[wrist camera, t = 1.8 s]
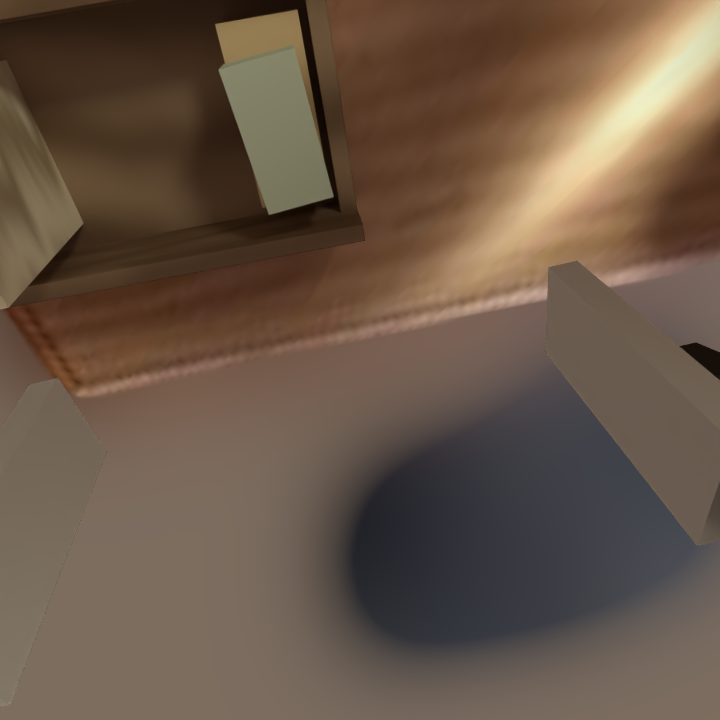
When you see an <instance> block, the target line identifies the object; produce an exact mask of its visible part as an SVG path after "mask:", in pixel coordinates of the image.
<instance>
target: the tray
mask: <svg viewBox="0 0 720 720" xmlns="http://www.w3.org/2000/svg"><path fill="white" fill-rule="evenodd" d="M292 9H297V10H298V15H299V21H300V27H301V32H302V38H303V44H304V49H305V55H306V61H307V66H308V72H309V78H310V83H311V89H312V94H313V100H314V106H315V111H316V117H317V123H318V128H319V134H320V140H321V145H322V151H323V157H324V162H325V166H326V170H327V173H328V177H329V181H330V185H331V188H332V192H333V196H334V197H332V198H328V199H325V200H321V201H317V202H314V203H310V204H307V205H303V206H299V207H296V208H292V209H289V210H285V211H281V212H278V213H274V214H270V215H269V214H268V211H267V208H266V207H265V208H262V204H261V201H260V197H259V193H258V189H257V185H256V181H255V177H254V174H253V170H252V166H251V162H250V159H249V156H248V153H247V151H246V148H245V145H244V142H243V139H242V136H241V133H240V130H239V128H238V125H237V122H236V119H235V116H234V113H233V110H232V107H231V105H230V102H229V99H228V96H227V93H226V90H225V87H224V84H223V82H222V79H221V76H220V73H219V68H220V67H221V66H222V65H223V64H225V61H224V57H223V54H222V50H221V46H220V42H219V38H218V34H217V30H216V26H215V24H217V23H220V22H224V21H230V20H236V19H241V18H247V17H253V16H258V15H264V14H270V13H275V12H281V11H287V10H292ZM3 60H7V63H8V65H9V67H10V69H11V71H12V73H13V75H14V77H15V79H16V82H17V84H18V86H19V88H20V90H21V92H22V94H23V96H24V98H25V101H26V103H27V105H28V107H29V109H30V111H31V113H32V115H33V117H34V119H35V122H36V124H37V126H38V128H39V130H40V132H41V134H42V136H43V138H44V141H45V143H46V145H47V147H48V149H49V151H50V153H51V155H52V157H53V160H54V162H55V164H56V166H57V168H58V170H59V172H60V174H61V176H62V179H63V181H64V183H65V185H66V187H67V189H68V191H69V193H70V195H71V198H72V200H73V202H74V204H75V206H76V208H77V210H78V212H79V214H80V216H81V219H82V221H83V225H82V226H81V227H80V228H79V229H78V230H77V231H76V232H75V234H74V235H73V236H72V237H71V238H70V239H69V240H68V241H67V243H66V244H65V245H64V246H63V247H62V248H61V249H60V250H59V252H58V253H57V254H56V255H55V256H54V257H53V258H52V259H51V261H50V262H49V263H48V264H47V265H46V266H45V267H44V268H43V270H42V271H41V272H40V273H39V274H38V275H37V276H36V278H35V279H34V280H33V281H32V282H31V283H30V284H29V285H28V287H27V288H26V289H25V290H24V291H23V292H22V293H21V294H20V296H19V297H18V298H17V299H16V300H15V301H14V302H13V303H12V305H11V306H10V307H14V306H19V305H25V304H30V303H36V302H41V301H46V300H52V299H57V298H62V297H68V296H73V295H78V294H84V293H89V292H94V291H100V290H105V289H110V288H116V287H121V286H126V285H132V284H137V283H142V282H148V281H153V280H158V279H164V278H169V277H174V276H180V275H185V274H190V273H196V272H201V271H206V270H212V269H217V268H222V267H228V266H233V265H238V264H244V263H249V262H254V261H260V260H265V259H270V258H276V257H281V256H286V255H292V254H297V253H302V252H308V251H313V250H318V249H324V248H329V247H334V246H340V245H345V244H350V243H356V242H361V241H365V237H364V230H363V224H362V221H361V219H360V216H359V213H358V211H357V205H356V199H355V192H354V185H353V179H352V172H351V165H350V158H349V152H348V145H347V138H346V131H345V125H344V118H343V111H342V105H341V98H340V91H339V84H338V78H337V71H336V64H335V57H334V51H333V44H332V37H331V31H330V24H329V17H328V10H327V4H326V0H0V61H3Z"/></svg>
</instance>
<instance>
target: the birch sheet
mask: <svg viewBox="0 0 720 720" xmlns="http://www.w3.org/2000/svg"><path fill="white" fill-rule="evenodd" d="M82 225H83V221H82V219H81V216H80V214H79V212H78V210H77V208H76V206H75V204H74V202H73V200H72V198H71V195H70V193H69V191H68V189H67V187H66V185H65V183H64V181H63V179H62V176H61V174H60V172H59V170H58V168H57V166H56V164H55V162H54V160H53V157H52V155H51V153H50V151H49V149H48V147H47V145H46V143H45V141H44V138H43V136H42V134H41V132H40V130H39V128H38V126H37V124H36V122H35V119H34V117H33V115H32V113H31V111H30V109H29V107H28V105H27V103H26V101H25V98H24V96H23V94H22V92H21V90H20V88H19V86H18V84H17V82H16V79H15V77H14V75H13V73H12V71H11V69H10V67H9V65H8V63H7V60H3V61H0V309H5V308H9V307H10V306H11V305H12V303H13V302H14V301H15V300H16V299H17V298H18V297H19V296H20V294H21V293H22V292H23V291H24V290H25V289H26V288H27V287H28V285H29V284H30V283H31V282H32V281H33V280H34V279H35V278H36V276H37V275H38V274H39V273H40V272H41V271H42V270H43V268H44V267H45V266H46V265H47V264H48V263H49V262H50V261H51V259H52V258H53V257H54V256H55V255H56V254H57V253H58V252H59V250H60V249H61V248H62V247H63V246H64V245H65V244H66V243H67V241H68V240H69V239H70V238H71V237H72V236H73V235H74V234H75V232H76V231H77V230H78V229H79V228H80V227H81V226H82Z"/></svg>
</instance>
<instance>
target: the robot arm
mask: <svg viewBox="0 0 720 720" xmlns="http://www.w3.org/2000/svg"><path fill="white" fill-rule="evenodd" d="M545 352H546V354H547V355H548V356H549V358H550V359H551V360H552V361H553V362H554V364H555V365H556V367H557V368H558V369H559V370H560V372H561V373H562V374H563V375H564V377H565V378H566V379H567V381H568V382H569V383H570V384H571V386H572V387H573V388H574V389H575V391H576V392H577V393H578V394H579V396H580V397H581V398H582V400H583V401H584V402H585V403H586V405H587V406H588V407H589V409H590V410H591V411H592V412H593V414H594V415H595V416H596V417H597V419H598V420H599V421H600V423H601V424H602V425H603V426H604V428H605V429H606V430H607V431H608V433H609V434H610V435H611V437H612V438H613V439H614V440H615V442H616V443H617V444H618V445H619V447H620V448H621V449H622V450H623V452H624V453H625V454H626V456H627V457H628V458H629V459H630V461H631V462H632V463H633V465H634V466H635V467H636V468H637V470H638V471H639V472H640V473H641V475H642V476H643V477H644V478H645V480H646V481H647V482H648V484H649V485H650V486H651V487H652V489H653V490H654V491H655V493H656V494H657V495H658V496H659V498H660V499H661V500H662V501H663V503H664V504H665V505H666V507H667V508H668V509H669V510H670V512H671V513H672V514H673V515H674V517H675V518H676V519H677V521H678V522H679V523H680V524H681V526H682V527H683V528H684V529H685V531H686V532H687V533H688V535H689V536H690V537H691V538H692V540H693V541H694V542H695V543H696V545H697V546H699V545H703V544H708V543H712V542H716V541H720V352H717V351H715V350H713V349H710V348H708V347H705V346H703V345H701V344H698V343H692V344H688V345H683V346H678V345H677V344H676V343H675V342H673V341H672V340H671V339H670V338H669V337H667V336H666V335H665V334H664V333H663V332H661V331H660V330H659V329H658V328H657V327H655V326H654V325H653V324H652V323H651V322H649V321H648V320H647V319H646V318H645V317H643V316H642V315H641V314H640V313H639V312H637V311H636V310H635V309H634V308H633V307H631V306H630V305H629V304H628V303H627V302H626V301H624V300H623V299H622V298H620V296H618V295H617V294H616V293H615V292H614V291H612V290H611V289H610V288H609V287H608V286H606V285H605V284H604V283H603V282H602V281H600V280H599V279H598V278H597V277H596V276H594V275H593V274H592V273H591V272H590V271H588V270H587V269H586V268H585V267H584V266H582V265H581V264H580V263H579V262H578V261H574V262H570V263H565V264H561V265H557V266H552V267H549V270H548V296H547V322H546V347H545ZM106 453H107V451H106V450H105V448H104V447H103V445H102V444H101V442H100V441H99V439H98V438H97V436H96V435H95V433H94V432H93V430H92V429H91V427H90V426H89V424H88V423H87V421H86V420H85V418H84V417H83V415H82V414H81V412H80V411H79V409H78V407H77V406H76V404H75V403H74V401H73V400H72V398H71V397H70V395H69V394H68V392H67V391H66V389H65V388H64V386H63V385H62V383H61V382H60V380H59V379H58V378H56V379H51V380H47V381H43V382H38V383H34V384H30V385H29V386H28V387H27V389H26V390H25V392H24V393H23V395H22V396H21V398H20V399H19V401H18V402H17V404H16V405H15V407H14V408H13V410H12V411H11V413H10V414H9V416H8V418H7V419H6V421H5V422H4V424H3V425H2V427H1V428H0V707H3V706H7V705H10V704H11V701H12V698H13V696H14V693H15V690H16V688H17V685H18V682H19V680H20V677H21V674H22V672H23V670H24V667H25V664H26V662H27V659H28V657H29V654H30V651H31V649H32V646H33V643H34V641H35V638H36V636H37V633H38V630H39V628H40V625H41V623H42V620H43V617H44V615H45V612H46V609H47V607H48V604H49V602H50V599H51V596H52V594H53V591H54V589H55V586H56V583H57V581H58V578H59V575H60V573H61V570H62V568H63V565H64V562H65V560H66V557H67V555H68V552H69V549H70V547H71V544H72V541H73V539H74V536H75V533H76V531H77V528H78V526H79V523H80V521H81V518H82V515H83V513H84V510H85V507H86V505H87V502H88V500H89V497H90V494H91V492H92V489H93V487H94V484H95V481H96V478H97V476H98V473H99V471H100V468H101V465H102V463H103V460H104V458H105V455H106Z"/></svg>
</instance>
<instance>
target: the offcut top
mask: <svg viewBox="0 0 720 720" xmlns="http://www.w3.org/2000/svg"><path fill="white" fill-rule="evenodd" d="M219 73H220V76H221V79H222V82H223V84H224V87H225V90H226V93H227V96H228V99H229V102H230V105H231V107H232V110H233V113H234V116H235V119H236V122H237V125H238V128H239V130H240V133H241V136H242V139H243V142H244V145H245V148H246V151H247V153H248V156H249V159H250V162H251V165H252V168H253V171H254V174H255V176H256V179H257V182H258V185H259V188H260V191H261V194H262V197H263V199H264V202H265V205H266V208H267V211H268V214H269V215H270V214H274V213H278V212H281V211H285V210H289V209H292V208H296V207H299V206H303V205H307V204H310V203H314V202H317V201H321V200H325V199H328V198H332V197H334V196H333V192H332V188H331V185H330V181H329V177H328V173H327V170H326V166H325V162H324V158H323V154H322V151H321V147H320V143H319V139H318V136H317V132H316V128H315V124H314V120H313V117H312V113H311V109H310V105H309V102H308V98H307V94H306V90H305V86H304V83H303V79H302V75H301V71H300V68H299V64H298V60H297V56H296V52H295V49H294V46H293V45H289V46H286V47H282V48H279V49H275V50H272V51H268V52H265V53H261V54H258V55H254V56H251V57H247V58H244V59H240V60H237V61H233V62H230V63H226V64H223V65H222V66H221V67H220V68H219Z"/></svg>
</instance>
